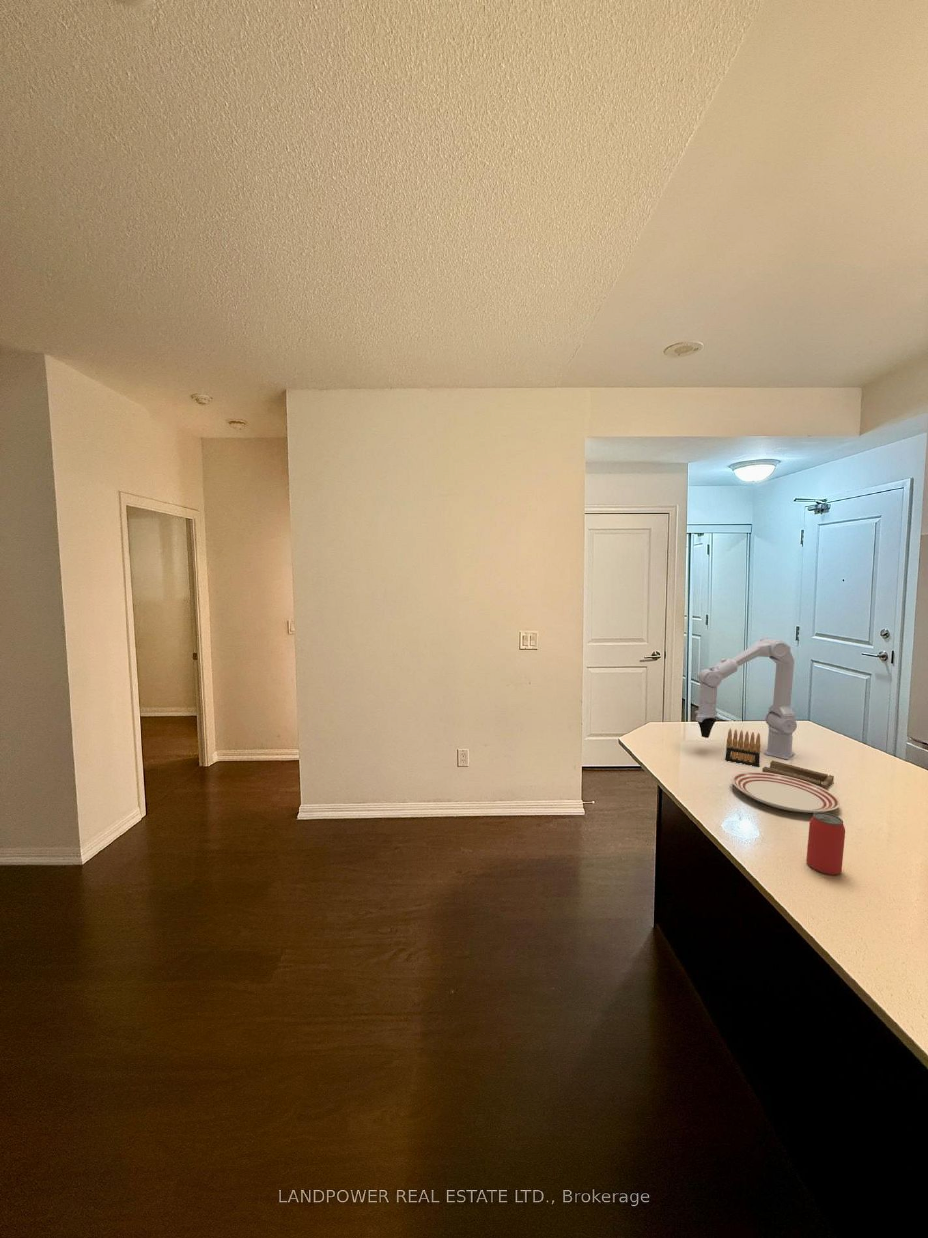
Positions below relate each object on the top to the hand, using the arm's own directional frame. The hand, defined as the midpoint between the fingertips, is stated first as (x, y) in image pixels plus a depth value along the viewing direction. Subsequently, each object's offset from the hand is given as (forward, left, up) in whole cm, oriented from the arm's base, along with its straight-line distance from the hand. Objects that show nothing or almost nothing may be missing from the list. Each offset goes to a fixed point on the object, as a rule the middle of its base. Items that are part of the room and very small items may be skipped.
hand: (705, 737), depth 184 cm
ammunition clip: (0, +13, -6) cm, 15 cm away
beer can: (+55, +48, -6) cm, 73 cm away
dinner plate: (+21, +31, -7) cm, 38 cm away
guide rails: (0, +29, -6) cm, 30 cm away
